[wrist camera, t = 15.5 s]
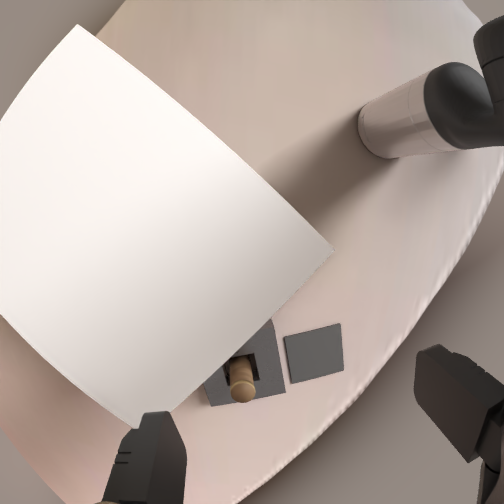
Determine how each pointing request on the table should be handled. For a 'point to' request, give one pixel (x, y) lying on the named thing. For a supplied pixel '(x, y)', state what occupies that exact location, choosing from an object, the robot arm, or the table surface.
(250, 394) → the wooden peg
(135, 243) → the cube
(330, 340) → the mat
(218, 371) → the gray square frame
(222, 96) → the table surface
